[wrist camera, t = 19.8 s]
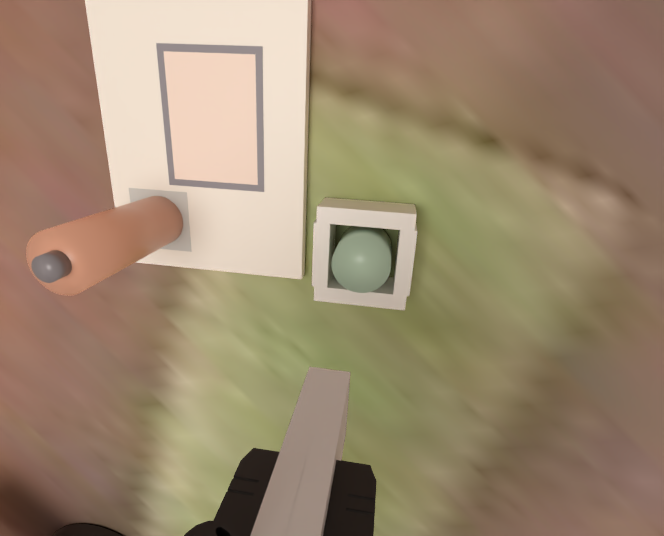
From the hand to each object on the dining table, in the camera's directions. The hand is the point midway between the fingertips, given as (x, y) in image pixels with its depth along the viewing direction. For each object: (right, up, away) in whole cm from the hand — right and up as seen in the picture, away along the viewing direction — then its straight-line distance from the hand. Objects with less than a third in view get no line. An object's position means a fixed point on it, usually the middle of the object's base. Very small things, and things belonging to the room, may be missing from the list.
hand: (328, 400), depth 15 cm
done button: (+3, +6, +17) cm, 19 cm away
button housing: (+3, +7, +18) cm, 19 cm away
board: (-10, +14, +17) cm, 24 cm away
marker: (-14, +9, +19) cm, 25 cm away
